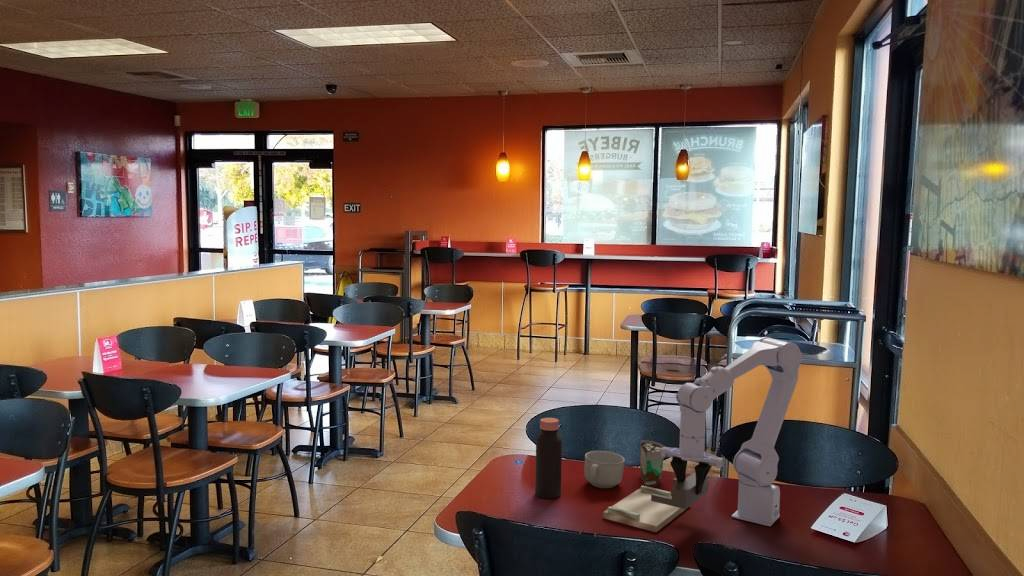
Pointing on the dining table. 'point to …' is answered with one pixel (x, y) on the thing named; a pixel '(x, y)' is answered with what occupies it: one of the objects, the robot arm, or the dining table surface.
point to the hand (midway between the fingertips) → (690, 491)
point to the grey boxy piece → (682, 493)
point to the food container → (651, 462)
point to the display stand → (643, 510)
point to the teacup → (603, 468)
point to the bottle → (548, 460)
